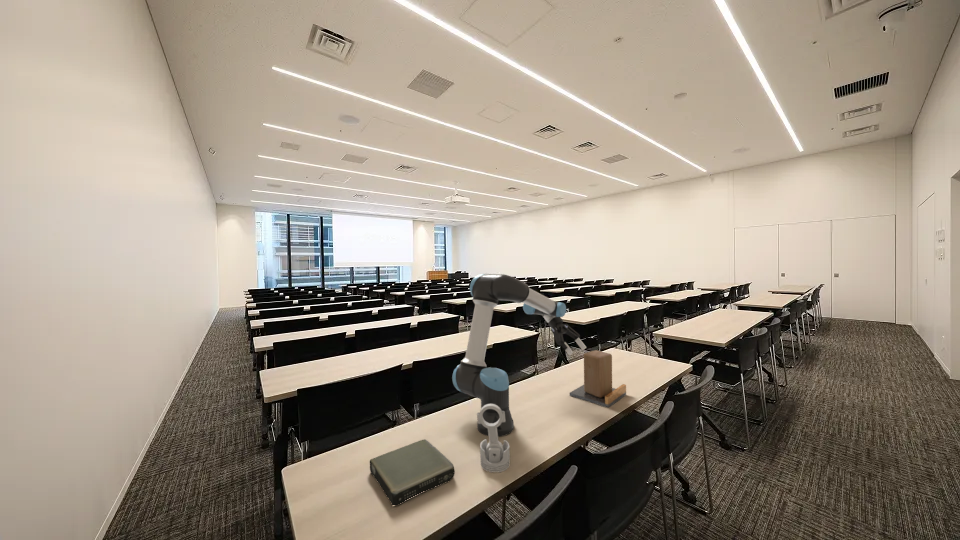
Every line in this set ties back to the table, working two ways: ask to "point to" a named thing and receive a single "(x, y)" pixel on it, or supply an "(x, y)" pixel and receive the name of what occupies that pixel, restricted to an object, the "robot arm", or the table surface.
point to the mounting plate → (602, 401)
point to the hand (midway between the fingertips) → (578, 351)
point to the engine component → (493, 443)
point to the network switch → (411, 470)
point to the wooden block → (598, 373)
